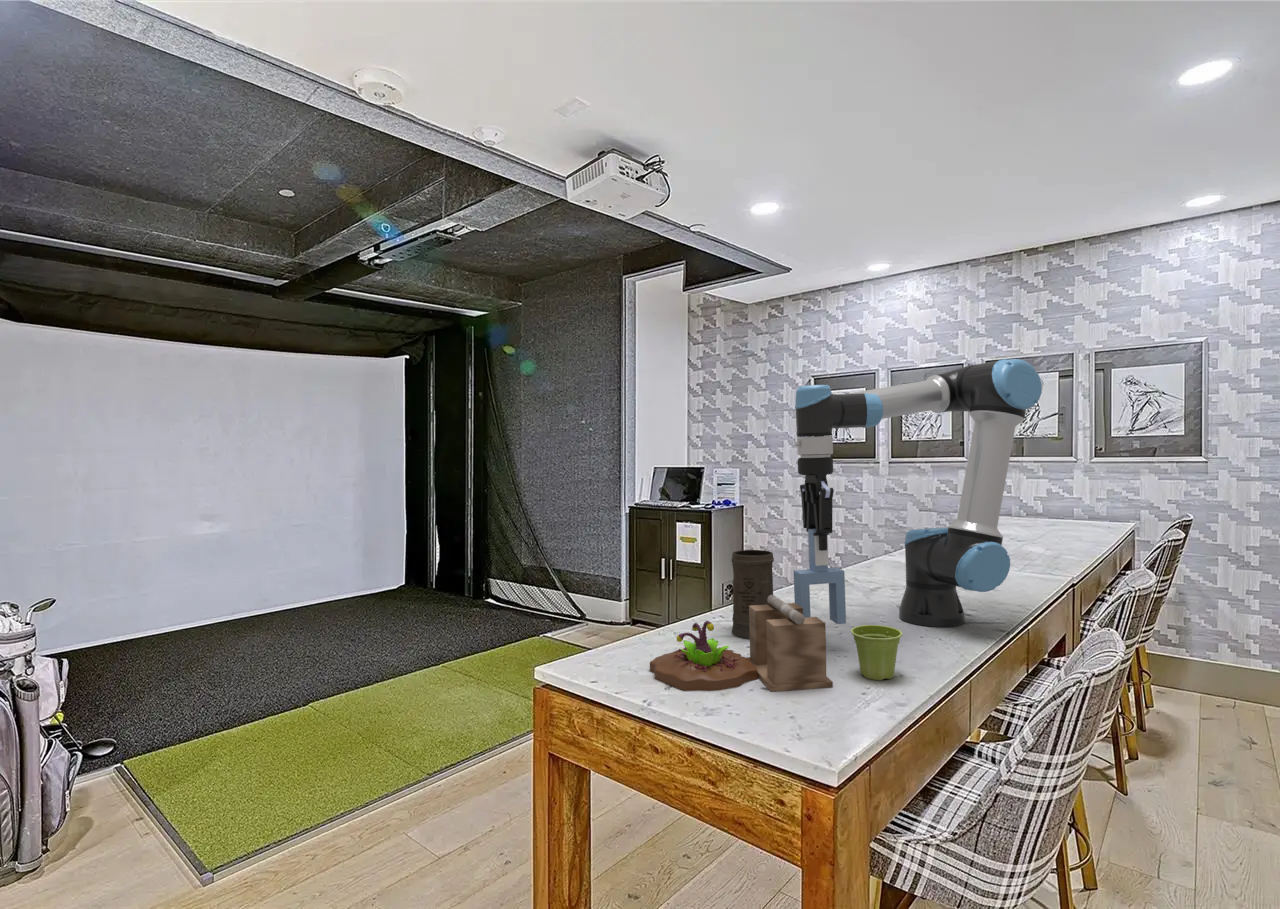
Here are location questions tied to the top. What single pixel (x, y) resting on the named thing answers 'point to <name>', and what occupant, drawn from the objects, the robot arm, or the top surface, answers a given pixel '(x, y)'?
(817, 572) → the light blue forked piece
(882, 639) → the plant pot
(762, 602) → the beer stein
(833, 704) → the top surface
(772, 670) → the stand
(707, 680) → the plant
